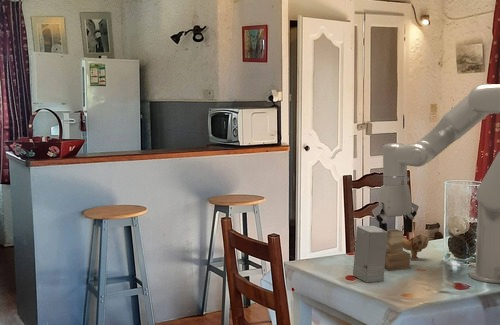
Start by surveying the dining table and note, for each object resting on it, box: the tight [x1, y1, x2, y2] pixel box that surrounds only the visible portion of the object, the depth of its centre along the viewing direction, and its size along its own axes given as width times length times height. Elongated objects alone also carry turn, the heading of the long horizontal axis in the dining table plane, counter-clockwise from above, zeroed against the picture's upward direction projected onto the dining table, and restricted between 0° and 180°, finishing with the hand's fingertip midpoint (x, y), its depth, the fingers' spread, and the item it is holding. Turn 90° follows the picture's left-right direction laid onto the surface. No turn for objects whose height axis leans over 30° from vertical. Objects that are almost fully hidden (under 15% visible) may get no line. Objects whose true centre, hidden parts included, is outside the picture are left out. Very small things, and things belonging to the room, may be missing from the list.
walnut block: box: [384, 250, 411, 272], centre depth 198 cm, size 8×8×5 cm
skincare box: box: [352, 225, 388, 283], centre depth 184 cm, size 8×7×16 cm
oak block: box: [386, 228, 404, 254], centre depth 197 cm, size 4×4×7 cm
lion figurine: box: [403, 234, 429, 262], centre depth 210 cm, size 15×5×9 cm, turn 50°
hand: (395, 233), depth 197 cm, fingers open, 9 cm apart
